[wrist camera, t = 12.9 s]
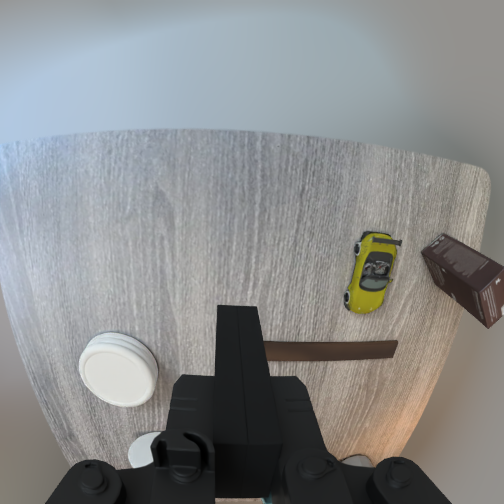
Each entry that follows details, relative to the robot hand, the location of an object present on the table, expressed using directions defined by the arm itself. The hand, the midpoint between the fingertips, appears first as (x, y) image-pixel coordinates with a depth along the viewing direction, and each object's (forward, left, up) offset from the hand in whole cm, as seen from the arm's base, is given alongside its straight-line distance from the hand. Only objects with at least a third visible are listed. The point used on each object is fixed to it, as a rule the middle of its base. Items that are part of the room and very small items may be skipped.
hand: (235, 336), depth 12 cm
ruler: (+15, +13, -21) cm, 29 cm away
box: (+2, +27, -22) cm, 34 cm away
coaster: (+19, -12, -22) cm, 31 cm away
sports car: (+5, +16, -22) cm, 27 cm away
